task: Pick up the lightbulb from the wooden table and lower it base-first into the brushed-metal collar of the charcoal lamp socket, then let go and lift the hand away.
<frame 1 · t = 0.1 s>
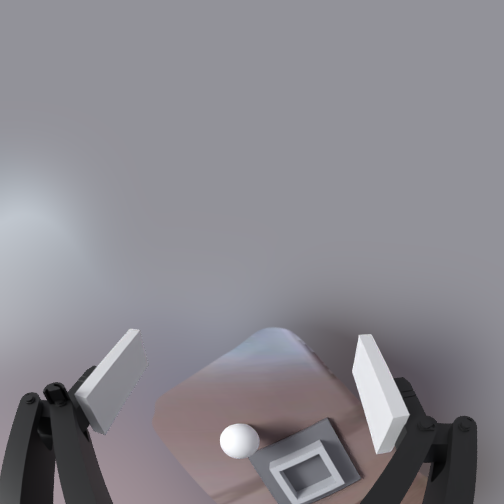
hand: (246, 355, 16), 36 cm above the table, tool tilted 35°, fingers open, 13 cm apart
lamp socket: (305, 468, 41), on the table
lightbulb: (245, 428, 45), on the table
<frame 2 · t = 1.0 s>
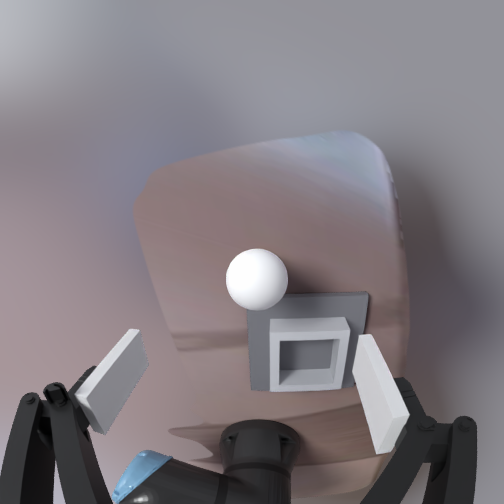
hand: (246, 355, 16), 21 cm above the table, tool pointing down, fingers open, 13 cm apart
lamp socket: (305, 344, 39), on the table
lightbulb: (261, 256, 36), on the table
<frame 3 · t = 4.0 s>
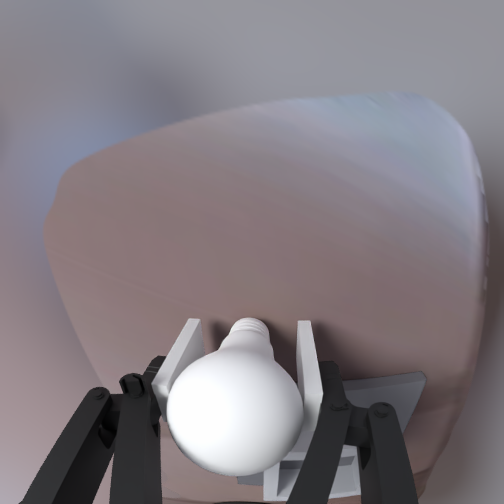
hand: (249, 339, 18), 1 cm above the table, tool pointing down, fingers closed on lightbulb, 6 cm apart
lamp socket: (319, 440, 22), on the table
lightbulb: (251, 326, 19), on the table, touching gripper
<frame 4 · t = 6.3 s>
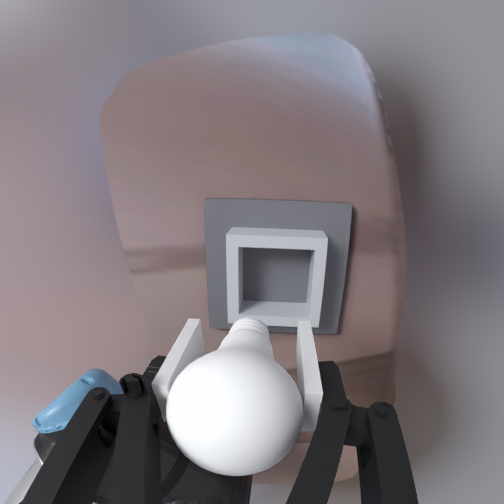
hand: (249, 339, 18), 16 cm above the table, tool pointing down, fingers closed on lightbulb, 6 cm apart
lamp socket: (276, 268, 33), on the table
lightbulb: (251, 326, 19), point 15 cm above the table, touching gripper
when the fingers open (5 cm above the table, at t = 8.9 s): lightbulb drops 2 cm, resting on lamp socket.
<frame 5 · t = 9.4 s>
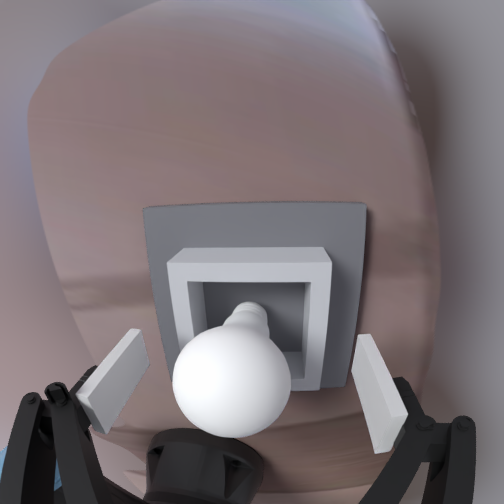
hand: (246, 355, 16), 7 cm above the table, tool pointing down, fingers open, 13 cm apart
lamp socket: (255, 304, 22), on the table
lightbulb: (251, 310, 21), point 1 cm above the table, touching lamp socket
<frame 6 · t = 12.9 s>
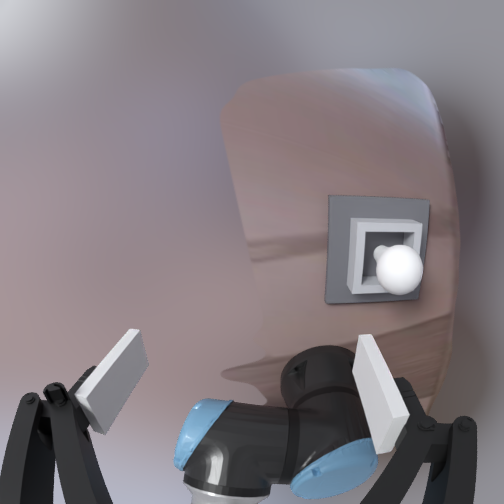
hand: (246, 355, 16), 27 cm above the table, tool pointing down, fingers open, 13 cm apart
lamp socket: (377, 249, 40), on the table
lightbulb: (379, 251, 39), point 1 cm above the table, touching lamp socket
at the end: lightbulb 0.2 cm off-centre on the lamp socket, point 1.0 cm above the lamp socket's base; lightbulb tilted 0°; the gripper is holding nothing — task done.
